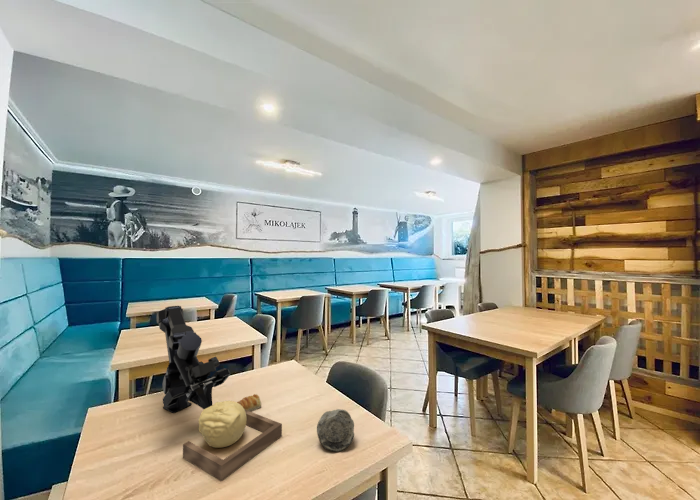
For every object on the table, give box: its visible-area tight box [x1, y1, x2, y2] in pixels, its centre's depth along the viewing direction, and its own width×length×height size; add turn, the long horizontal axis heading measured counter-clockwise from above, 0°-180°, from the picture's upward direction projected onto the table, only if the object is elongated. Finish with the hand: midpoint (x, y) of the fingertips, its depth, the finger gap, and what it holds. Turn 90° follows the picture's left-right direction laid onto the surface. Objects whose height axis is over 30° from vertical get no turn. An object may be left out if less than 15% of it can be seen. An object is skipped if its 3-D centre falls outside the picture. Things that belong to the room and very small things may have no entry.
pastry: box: [236, 393, 262, 412], centre depth 102 cm, size 9×7×4 cm
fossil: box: [316, 408, 355, 453], centre depth 85 cm, size 11×9×10 cm
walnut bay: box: [182, 410, 283, 482], centre depth 82 cm, size 16×20×4 cm
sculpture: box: [198, 400, 247, 449], centre depth 85 cm, size 11×12×11 cm
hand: (210, 411), depth 87 cm, fingers closed, pressing on sculpture
